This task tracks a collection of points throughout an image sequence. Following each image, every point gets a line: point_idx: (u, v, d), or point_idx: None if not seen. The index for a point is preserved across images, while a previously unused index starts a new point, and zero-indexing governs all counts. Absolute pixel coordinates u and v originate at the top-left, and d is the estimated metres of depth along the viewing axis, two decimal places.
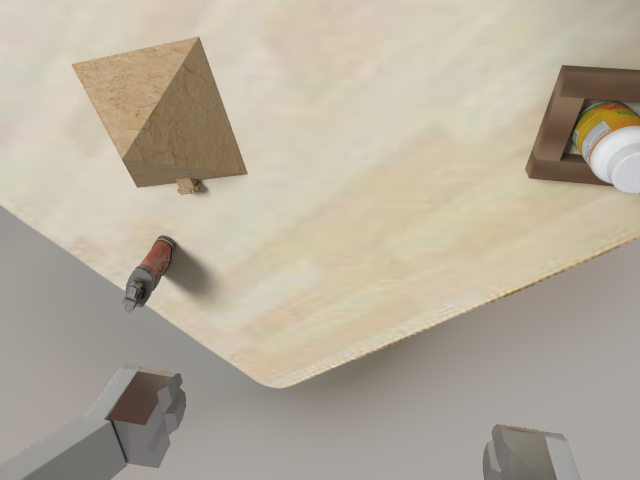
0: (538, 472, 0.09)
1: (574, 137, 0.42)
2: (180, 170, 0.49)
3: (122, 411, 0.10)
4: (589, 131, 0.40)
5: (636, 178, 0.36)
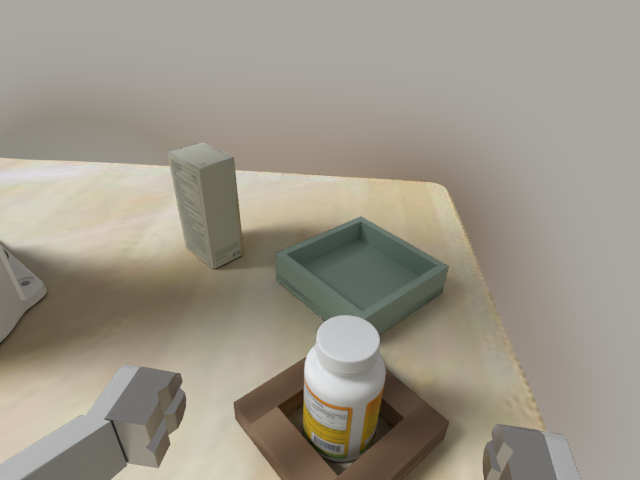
0: (538, 472, 0.09)
1: (320, 444, 0.29)
2: None
3: (123, 411, 0.10)
4: (306, 407, 0.29)
5: (353, 341, 0.26)
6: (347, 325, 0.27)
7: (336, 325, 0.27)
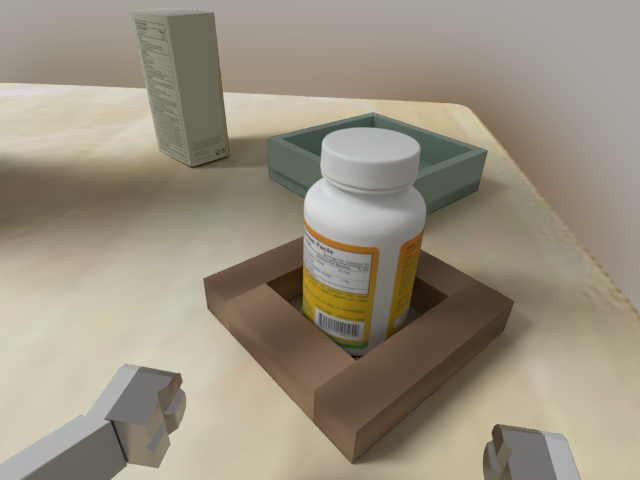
0: (538, 472, 0.09)
1: (327, 326, 0.20)
2: None
3: (122, 411, 0.10)
4: (307, 270, 0.20)
5: (380, 146, 0.17)
6: (368, 134, 0.18)
7: (352, 134, 0.18)
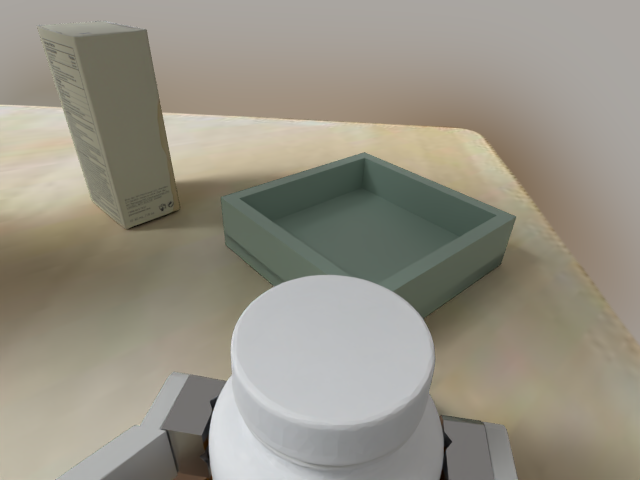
0: (474, 461, 0.09)
1: None
2: None
3: (177, 420, 0.10)
4: None
5: (351, 350, 0.08)
6: (330, 301, 0.09)
7: (299, 301, 0.09)
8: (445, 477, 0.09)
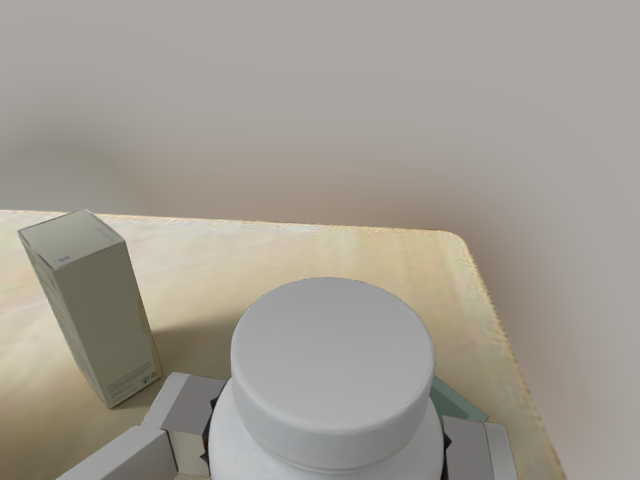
0: (474, 461, 0.09)
1: None
2: None
3: (177, 420, 0.10)
4: None
5: (350, 354, 0.08)
6: (331, 303, 0.09)
7: (298, 304, 0.09)
8: (445, 477, 0.09)
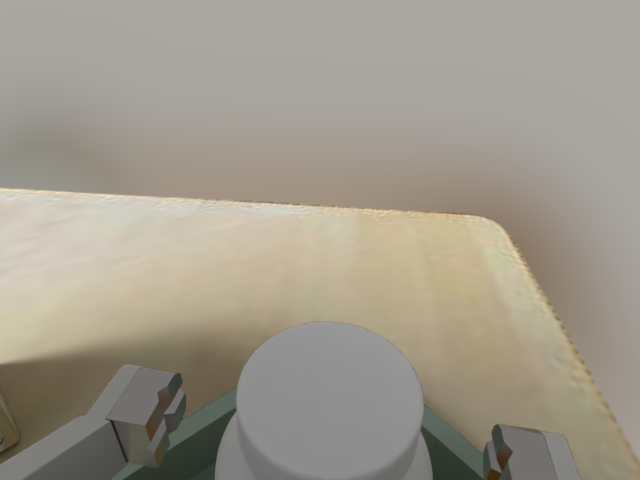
0: (538, 472, 0.09)
1: None
2: None
3: (123, 411, 0.10)
4: None
5: (346, 402, 0.09)
6: (328, 350, 0.10)
7: (298, 350, 0.10)
8: None
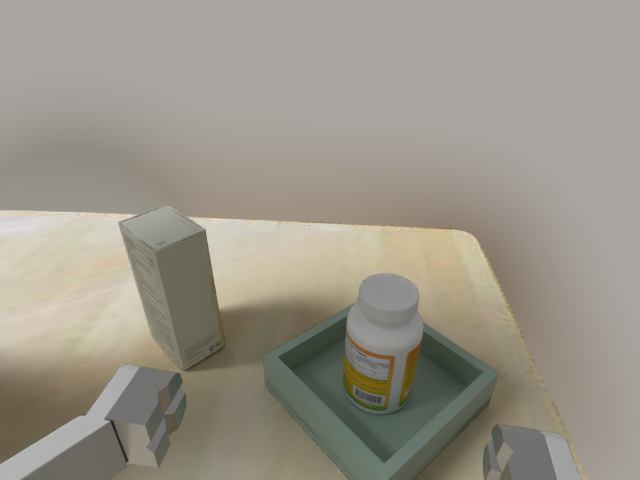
0: (538, 472, 0.09)
1: (361, 397, 0.31)
2: None
3: (122, 411, 0.10)
4: (348, 361, 0.31)
5: (394, 294, 0.28)
6: (387, 281, 0.29)
7: (377, 281, 0.29)
8: None
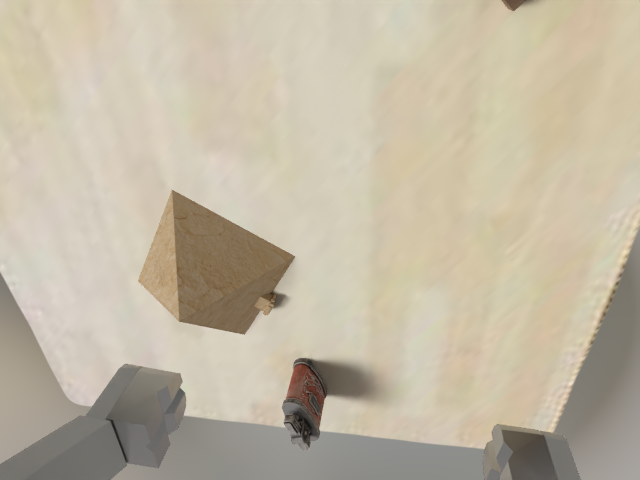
0: (538, 472, 0.09)
1: None
2: (238, 296, 0.50)
3: (122, 411, 0.10)
4: None
5: None
6: None
7: None
8: None
